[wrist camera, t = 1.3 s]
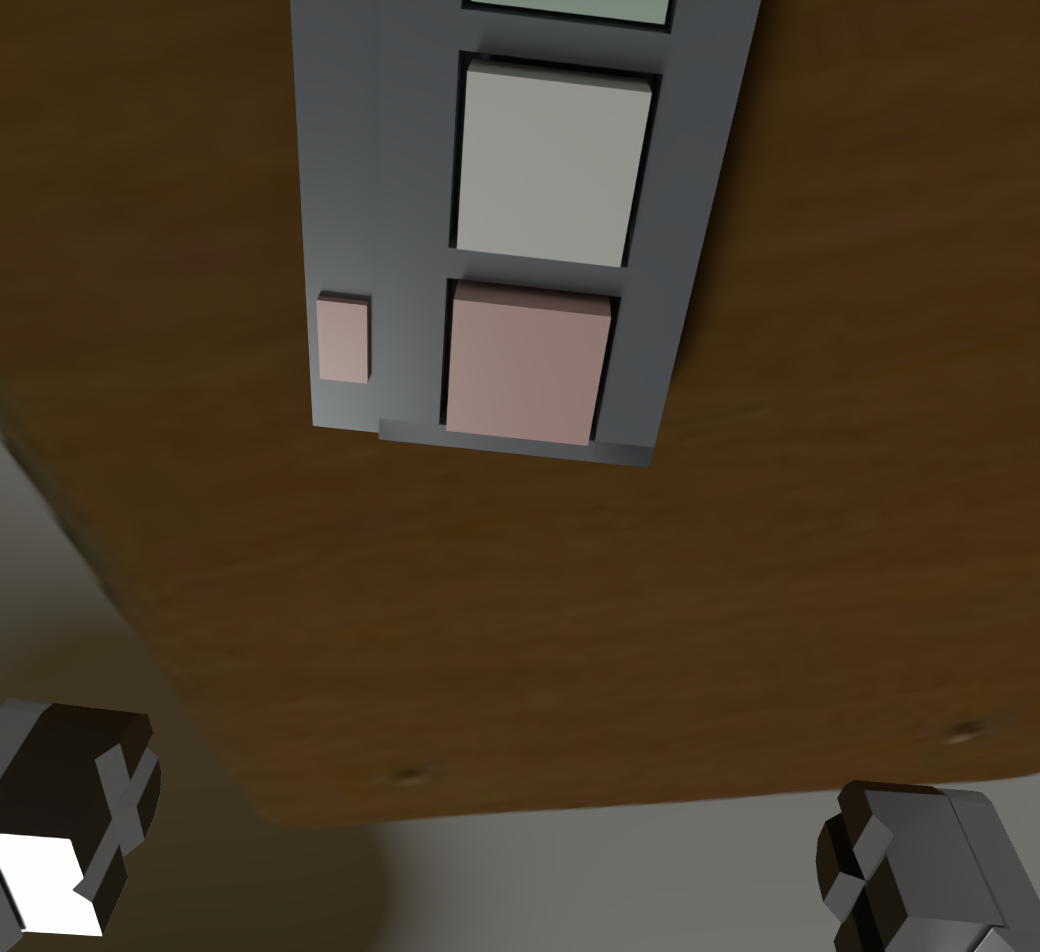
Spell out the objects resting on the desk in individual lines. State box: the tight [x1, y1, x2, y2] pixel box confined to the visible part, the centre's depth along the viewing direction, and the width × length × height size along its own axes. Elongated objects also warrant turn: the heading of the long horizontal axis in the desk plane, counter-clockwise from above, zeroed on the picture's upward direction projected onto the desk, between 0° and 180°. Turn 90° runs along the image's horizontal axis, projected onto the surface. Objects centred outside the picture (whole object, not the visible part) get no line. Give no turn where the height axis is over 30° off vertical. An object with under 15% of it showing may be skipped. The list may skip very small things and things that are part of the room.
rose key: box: [446, 279, 611, 446], centre depth 35 cm, size 6×6×2 cm
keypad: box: [290, 0, 761, 468], centre depth 32 cm, size 25×15×4 cm, turn 174°
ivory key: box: [457, 59, 652, 267], centre depth 30 cm, size 6×6×2 cm
